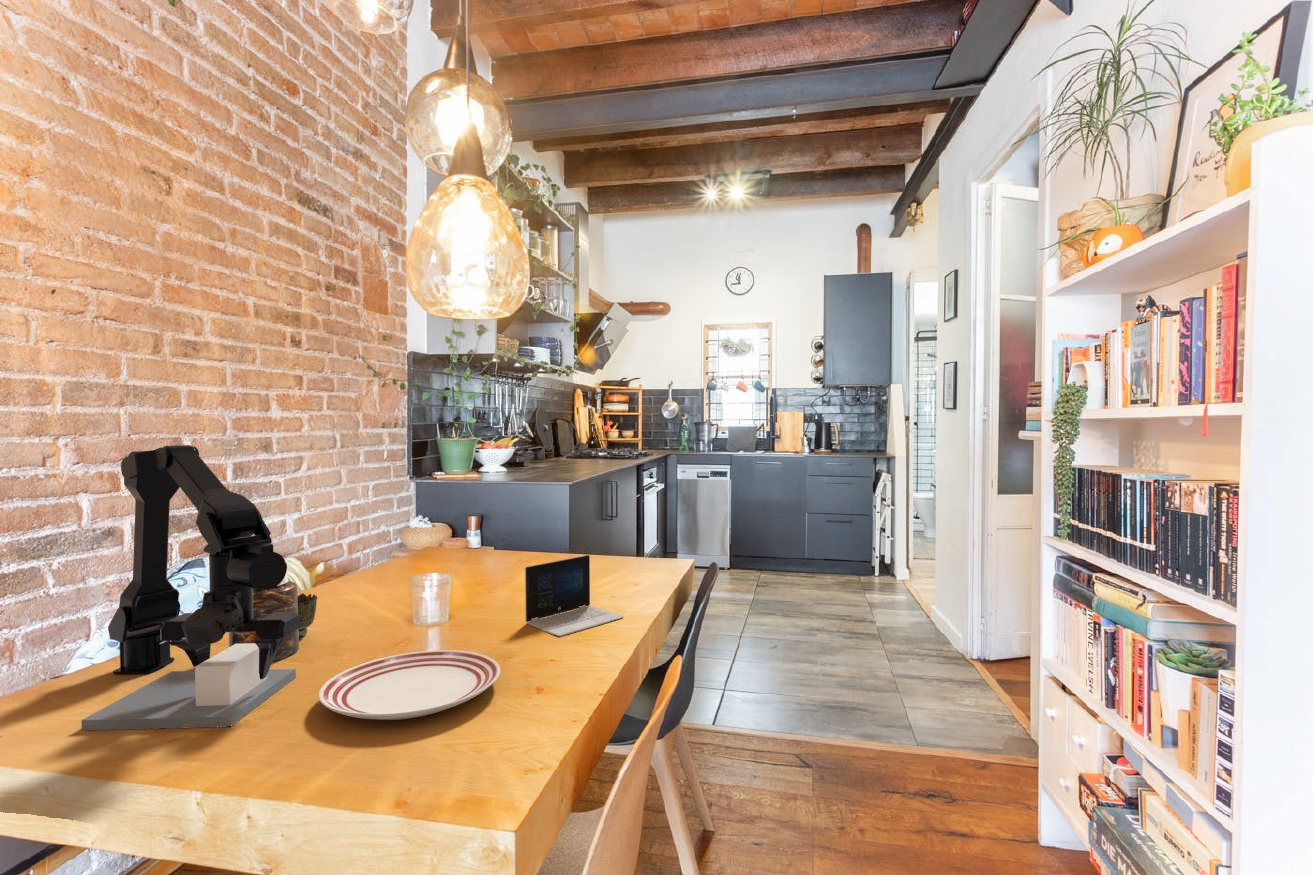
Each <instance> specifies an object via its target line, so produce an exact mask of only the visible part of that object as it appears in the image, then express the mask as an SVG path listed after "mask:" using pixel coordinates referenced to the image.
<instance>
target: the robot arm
mask: <svg viewBox="0 0 1313 875" xmlns="http://www.w3.org/2000/svg"><path fill="white" fill-rule="evenodd" d="M120 471H121V475H122V477H123V485H124V486H125V488H126V489H127V490H128V492H129V493H130V494H131V496H132V497H133V498H134V500H135V505H134V508H135V509H134V532H133V533H134V535H133V562H132V563H133V564H132V580H131V581H130V582H129V584H128V585H127V586H126V587H125V589H124V590H123V591H122V592H121V594H120V597H119V603H118V608H117V609H116V611H115V613H114V615H113V617H112V619H111V620H110V622H109V624H108V626H107V629H108V631H107V632H108V636H109V639H111V640H113V641H115V642H119V668H116V669H114V670H113V671H112V674H113V675H115V674H116V675H122V674H123V675H124V674H126V675H128V674H129V675H130V674H133V675H134V674H150V673H152V672H155V671H156V670H159V669H160V668H162V667H164V666H166V665H167V664H168V665H169V664H170V663H171V662H174V661H175V657H171V646H174V647H177V648H179V649H181V650H182V651H184V652H185V654H186V656H187V657H188V658H189V660H190V662H191V664H192V666H193V668H194V670H195V666H197V665H199V664H201V663H202V662H204V661H206V660H208V659H210V658H211V649H212V648H211V645H212V644H216V643H218V642H219V641H221V640H222V639H223V638H224V636H225V634H226V633H229V632H234V631H256V635H257V636H258V637H259V638H260V639H259V640H257V641H255V644H256V645H257V647H258V648H259V676H260V679H264V678H265V677H266V676H267V673H268V671H269V669H271V666H272V665H273V662H274V661H273V659H274V657H275V655H276V653H277V650H278V648H279V647H280V645H281V643H282V641H283V640H284V638H285V637H287V636H288V635H290V634H291V633H292V632H294V631H295V630H297V629H299V628H300V627H301V622H300V616H299V615H298V614H297V612H296V611H295V612H274V613H272V614H270V615H268V616H266V617H264V618H262V619H253V617H254V616H256V615H258V608H253V591H256V590H258V589H260V590H269V589H272V588H274V587H276V586H277V585H279V584H280V583H281V582H282V580H283V579H284V577H285V575H286V573H287V571H288V563H287V561H286V560H285V558H284V557H283V555H281V554H280V553H278V552H276V551H274V544H273V539H272V537H271V531H270V529H269V527H268V526H267V524H266V523H265V522H266V521H264V518H263V517H262V514H261V512H260V510H259V509H258V507H257V506H256V505H255V504H254V502H252V501H251V500H249V499H248V498H247V497H246V496H244V495H243V494H240V493H237V492H234V491H231V490H229V489H228V488H226V486H225V485H224V484H223V483H222V482H221V480H219V478H218V477H217V476H216V475H215V473H214V472H213V470H211V469H210V467H209V466H208V465H207V464H206V463H205V462H204V460H203V458H201V456H200V452H199V449H198V448H197V447H196V446H195V445H194V446H193V445H190V444H183V445H182V444H180V445H178V444H177V445H176V444H175V445H164V446H163V447H158V448H155V449H152V450H137V451H136V450H135V451H130V453H129V454H128V456H125V457H124V458H123V459H122V461H121V463H120ZM179 490H182V492H183V493H184V494H185V496H186V497H187V498H188V500H189V501H190V502H191V504H192V505H193V506H194V508H195V509H196V511H197V512H198V513H197V516H196V520H195V524H196V525H197V529H198V531H199V533H200V534H201V536H202V537H203V538H204V540H205V541H206V543H207V544H206V545H205V547H203V552H204V553H205V554H206V553H208V560H209V561H208V569H209V570H208V571H209V573H208V574H209V591H207V592H204V593H203V597H202V605H201V606H200V607H199V608H197V609H196V610H194V611H193V612H185V613H182V614H180V612H181V611H180V610H181V603H180V601H179V597H180V592H179V590H178V589H177V588H175V587H174V586H173V585H172V584H171V582H170V581H169V580H168V558H169V557H168V554H169V536H170V535H169V530H170V507H171V504H170V503H171V499H172V498H173V497H174V496H175V495H176V493H177V492H178V491H179ZM243 624H244V626H240V625H243Z"/></svg>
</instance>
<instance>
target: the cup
mask: <svg viewBox="0 0 1313 875" xmlns="http://www.w3.org/2000/svg"><path fill="white" fill-rule="evenodd" d="M317 601H318V596H317V594H311V593H310V594H308V595H307V594H306V593H304V592H303V593H299V595H298V615H299V616H300V622H301V627H300V628H299V638H302V637H303V638H304V636H306V635H307V634H308V630H309V629H308V627H310V626H311V625H312V624H313V623H314V620H315V618H316V611H317V603H318V602H317Z"/></svg>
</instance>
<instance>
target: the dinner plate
mask: <svg viewBox="0 0 1313 875" xmlns="http://www.w3.org/2000/svg"><path fill="white" fill-rule="evenodd" d="M500 675H501V667H500V664H499V663H498V662H497V661H496V660H494V659H493V658H492V657H489V656H487V655H484V654H481V653H478V652H472V651H466V650H454V649H452V650H451V649H450V650H449V649H447V650H446V649H439V650H438V649H437V650H423V651H422V650H421V651H415V652H414V651H413V652H405V653H399V654H395V655H394V654H393V655H390V656H385V657H381V658H377V659H373V660H369V661H367V662H363V663H360V664H357V665H355V666H353V667H350V668H347V669H345V670H343V671H341V672H340V673H338V674H336V675H334V676H333V677H331V678H329V680H327V681H326V682H325V683H324V684H323V685H322V686H321V687H320V689H319V691H318V700H319V703H321V705H322V706H324V707H325V708H327V709H328V710H330V711H332V712H334V713H337V714H340V715H343V716H348V717H352V718H358V719H366V720H378V721H379V720H380V721H381V720H382V721H399V720H409V719H416V718H422V717H425V716H430V715H433V714H436V713H440V712H443V711H445V710H448V709H450V708H454V707H456V706H458V705H461V704H464V703H465V702H468V701H469V700H471V699H473V698H476V697H477V696H479V695H480V694H481V693H483V692H484V691H486V690H488V688H490V687H491V686H492V685H493V684H494V683H495V682H496V681H497V679H498V678H499V677H500Z"/></svg>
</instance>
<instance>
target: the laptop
mask: <svg viewBox="0 0 1313 875" xmlns="http://www.w3.org/2000/svg"><path fill="white" fill-rule="evenodd" d="M590 559H591V557H590V555H589V554H586V555H580V556H576V557H571V558H565V559H561V560H560V559H559V560H554V561H549V562H545V563H544V562H543V563H540V564H539V563H538V564H535V565H534V564H533V565H528V566H525V568H524V572H525V573H524V579H525V580H524V581H525V582H524V583H525V584H524V585H525V588H524V591H525V593H524V594H525V595H524V596H525V602H524V603H525V622H526V625H527V624H528V626H529V625H531V626H533V627H532V628H534V627H535V629H538V630H539V631H541V630H542V632H544V633H547V634H549V635H550V634H551V635H553V636H556V637H559V638H560V637H564V636H567V635H570V634H574V633H577V632H582V631H583V630H587V629H590V628H595V627H598V626H601V625H604V624H607V623H611V621H612V622H614V620H615V621H618V620H621V619H624V616H623V615H620V614H617V613H615V612H611V611H607V610H605V609H602V608H598V607H595V606H592V605H591V597H590V596H591V595H590V594H591V590H590V589H591V583H590V582H591V581H590V580H591V578H590V577H591V576H590V574H591V572H590V570H591V568H590V566H591V565H590ZM531 626H530V627H531Z"/></svg>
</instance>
